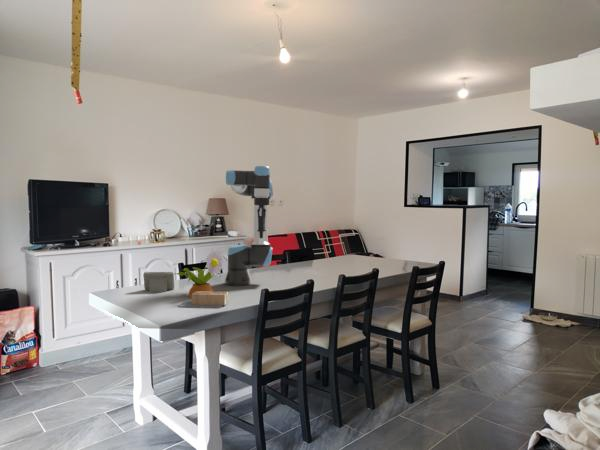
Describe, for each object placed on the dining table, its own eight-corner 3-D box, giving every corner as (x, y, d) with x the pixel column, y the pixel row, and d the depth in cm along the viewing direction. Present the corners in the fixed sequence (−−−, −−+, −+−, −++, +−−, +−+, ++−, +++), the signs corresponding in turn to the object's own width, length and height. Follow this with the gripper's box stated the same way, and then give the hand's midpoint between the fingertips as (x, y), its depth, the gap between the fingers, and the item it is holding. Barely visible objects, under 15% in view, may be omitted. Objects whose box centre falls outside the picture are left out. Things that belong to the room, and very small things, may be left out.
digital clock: (175, 289, 241) (175, 270, 240) (170, 292, 232) (170, 273, 231) (147, 288, 242) (147, 269, 241) (140, 292, 233) (140, 272, 232)
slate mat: (186, 300, 214) (186, 299, 214) (225, 301, 214) (225, 300, 214) (178, 307, 201) (178, 306, 201) (220, 307, 201) (220, 307, 201)
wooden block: (227, 301, 211) (195, 301, 211) (228, 291, 211) (195, 291, 211) (225, 305, 204) (191, 304, 204) (225, 294, 204) (191, 294, 204)
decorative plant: (200, 302, 210) (200, 252, 209) (165, 296, 222) (165, 248, 221) (234, 292, 234) (235, 247, 232) (201, 287, 246) (201, 244, 244)
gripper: (268, 197, 207) (267, 246, 208) (270, 197, 220) (270, 243, 221) (252, 197, 207) (252, 245, 208) (255, 197, 220) (255, 242, 221)
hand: (261, 244), depth 215 cm, fingers closed
